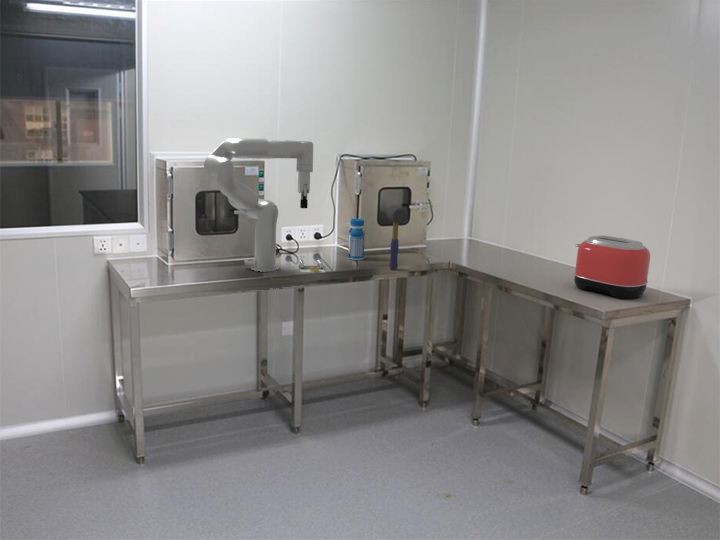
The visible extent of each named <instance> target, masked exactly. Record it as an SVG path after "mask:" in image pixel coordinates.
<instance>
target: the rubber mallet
mask: <svg viewBox="0 0 720 540" xmlns="http://www.w3.org/2000/svg"><path fill="white" fill-rule="evenodd" d="M385 212H386V213H385V214H386V218H388V219H389V220H390V221H391V222H392V236H391V241H390V242H391V243H390V260H389V261H390V262H389V265H388V267H389V269H390V270H394V271H395V270H397V268H398V267H399V266H398V265H399V264H398V254H399V244H400V243H399V239H398V237H399V224H402V223H404V222H405V221H406V220H407V216H408V215H407V212H406V210H405V209H404V208H402V207H401V206H398V205H394V204H393V205H390V206H388V207H387V209H386V211H385Z"/></svg>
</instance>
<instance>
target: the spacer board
mask: <svg viewBox="0 0 720 540" xmlns="http://www.w3.org/2000/svg"><path fill="white" fill-rule="evenodd" d="M311 266H312V265H304V269H300V266H299V265H298V269H299V271H300V273H312V272H311V271H310V267H311ZM325 272H326V271H325V269H324V268H323V269H320V271H319V272H318V273H325Z"/></svg>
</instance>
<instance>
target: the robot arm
mask: <svg viewBox="0 0 720 540" xmlns="http://www.w3.org/2000/svg"><path fill="white" fill-rule="evenodd" d="M233 158H234V159H241V160H242V159H243V160H244V159H246V160H247V159H258V160H259V159H261V160H262V159H263V160H265V159H266V160H267V159H268V160H269V159H270V160H271V159H296V171H295V172H298V174H297V175H298V176H297V192H298V193H299V194H300V205H299V206H300V207H299V208H300V209H308V206H309V205H308V203H309V202H308V194H310V190H311V188H310V187H311V173H313V172H314V171H313V170H314V168H313V167H314V143H313V142H312V141H310V140H309V141H308V140H288V139H287V140H277V139H276V140H275V139H269V138H241V137H239V138H238V137H228V138H226V139H225V140H223V141H222V142H221V143H220V144H219V145H218V146H217V147H216V148H215V149H214V150H213V151H212V152H211V153H210V154H209V155H207V157H206V158H205V159H204V161H203V162H204V163H203V168H204V171H205V173H207V174H208V175H210V176H211V177H212V176H213V177H216V182H217V187H218V190H219V191H220V193H221V194H222V195H224V196H225V197H227V200H228V203H229V204H230V205H231V206H232V207H233V208H235V209H236V210H238V211H240V212H241V213H243V214H244V215H246V216H247V217H249V218H250V219H254V220H256V223H255V227H254V258H253V259H251V260H245V259H244V265H247V266H251V268H250V269H251V270H252V271H253V270H254V271H253V272H258V271H260V273H268V272H274V271H278V270H280V266H279V265H277V263H276V262H277V258H276V256H277V223H278V218H279V208H278V206H277V204H276V203H275V202H273V201H272V200H269V199H268V200H267V199H264V198H263V199H262V198H260V197H259V195H258V194H257V192H255V191H254V190H253V189H252V188H250V187H248V186H247V185H245V184H243V183H242V182H241V181H239V180H238V179H237V178H236V176H235V166H234V164H233V162H232V159H233Z"/></svg>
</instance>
